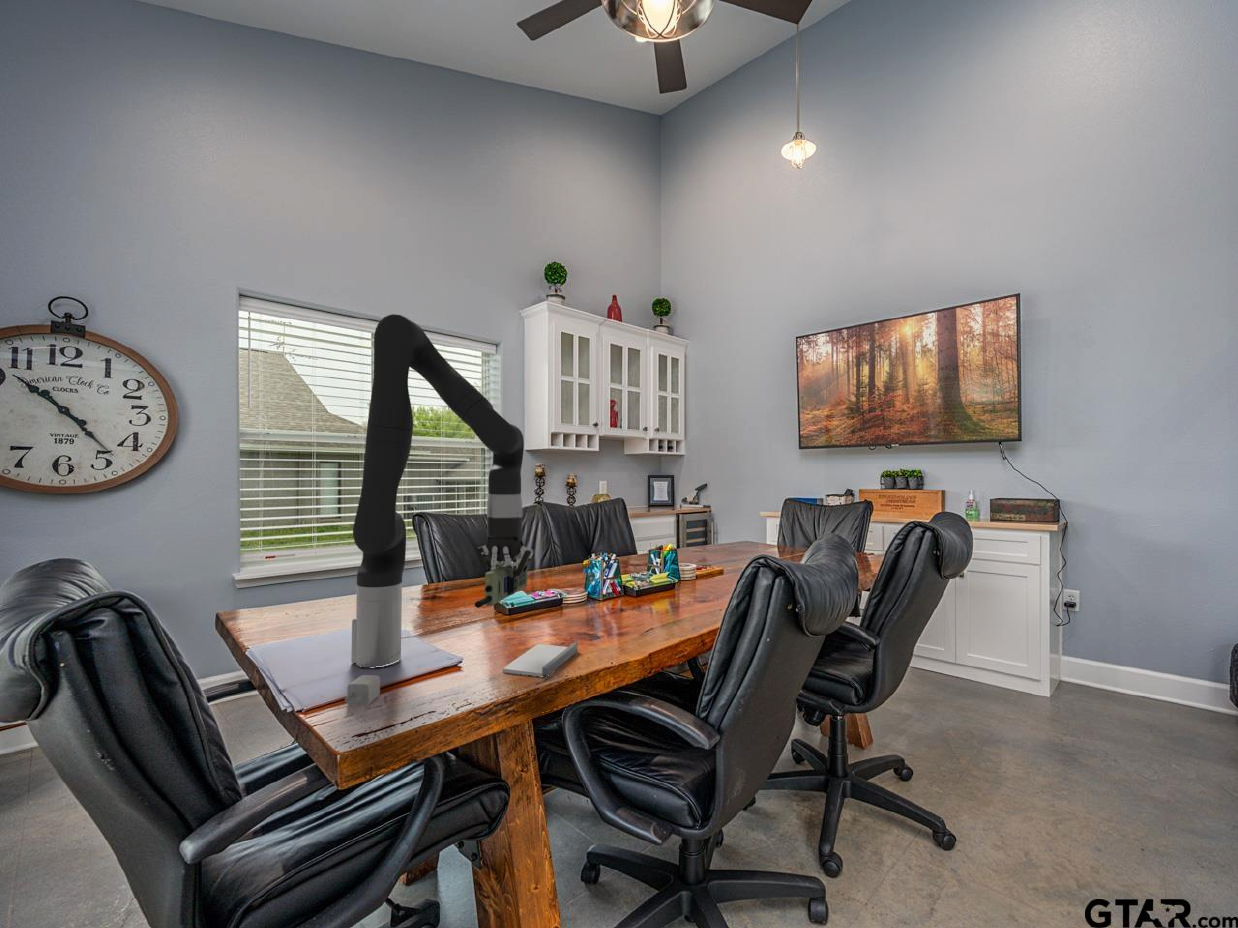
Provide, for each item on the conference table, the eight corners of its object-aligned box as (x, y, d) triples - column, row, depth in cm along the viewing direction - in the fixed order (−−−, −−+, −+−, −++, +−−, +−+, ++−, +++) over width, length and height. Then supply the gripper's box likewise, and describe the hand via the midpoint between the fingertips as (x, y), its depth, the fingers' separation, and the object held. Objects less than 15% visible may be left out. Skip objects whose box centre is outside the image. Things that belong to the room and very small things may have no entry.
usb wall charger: (379, 697, 109) (380, 675, 109) (362, 712, 102) (362, 689, 102) (358, 696, 110) (359, 674, 110) (339, 711, 103) (339, 688, 103)
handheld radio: (529, 586, 140) (485, 611, 115) (516, 586, 140) (470, 610, 116) (529, 558, 140) (486, 577, 115) (516, 558, 141) (470, 577, 116)
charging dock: (502, 672, 123) (502, 662, 123) (538, 647, 140) (538, 638, 140) (546, 677, 120) (546, 667, 120) (577, 651, 138) (577, 642, 138)
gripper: (467, 515, 126) (466, 595, 126) (526, 517, 122) (526, 600, 122) (484, 512, 134) (484, 588, 133) (541, 514, 130) (541, 592, 129)
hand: (504, 593), depth 128 cm, fingers closed on handheld radio, 2 cm apart
